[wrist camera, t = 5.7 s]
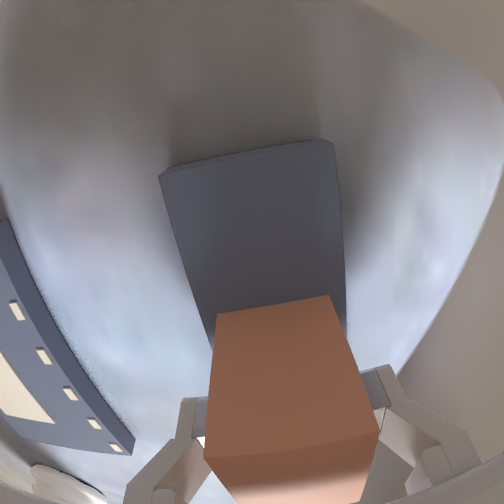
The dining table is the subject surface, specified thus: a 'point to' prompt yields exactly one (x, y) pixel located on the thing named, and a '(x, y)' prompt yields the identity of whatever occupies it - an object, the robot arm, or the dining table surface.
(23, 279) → the grey notebook
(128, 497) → the robot arm
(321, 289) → the stub
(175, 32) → the dining table surface
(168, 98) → the dining table surface
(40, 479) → the white tall statuette
